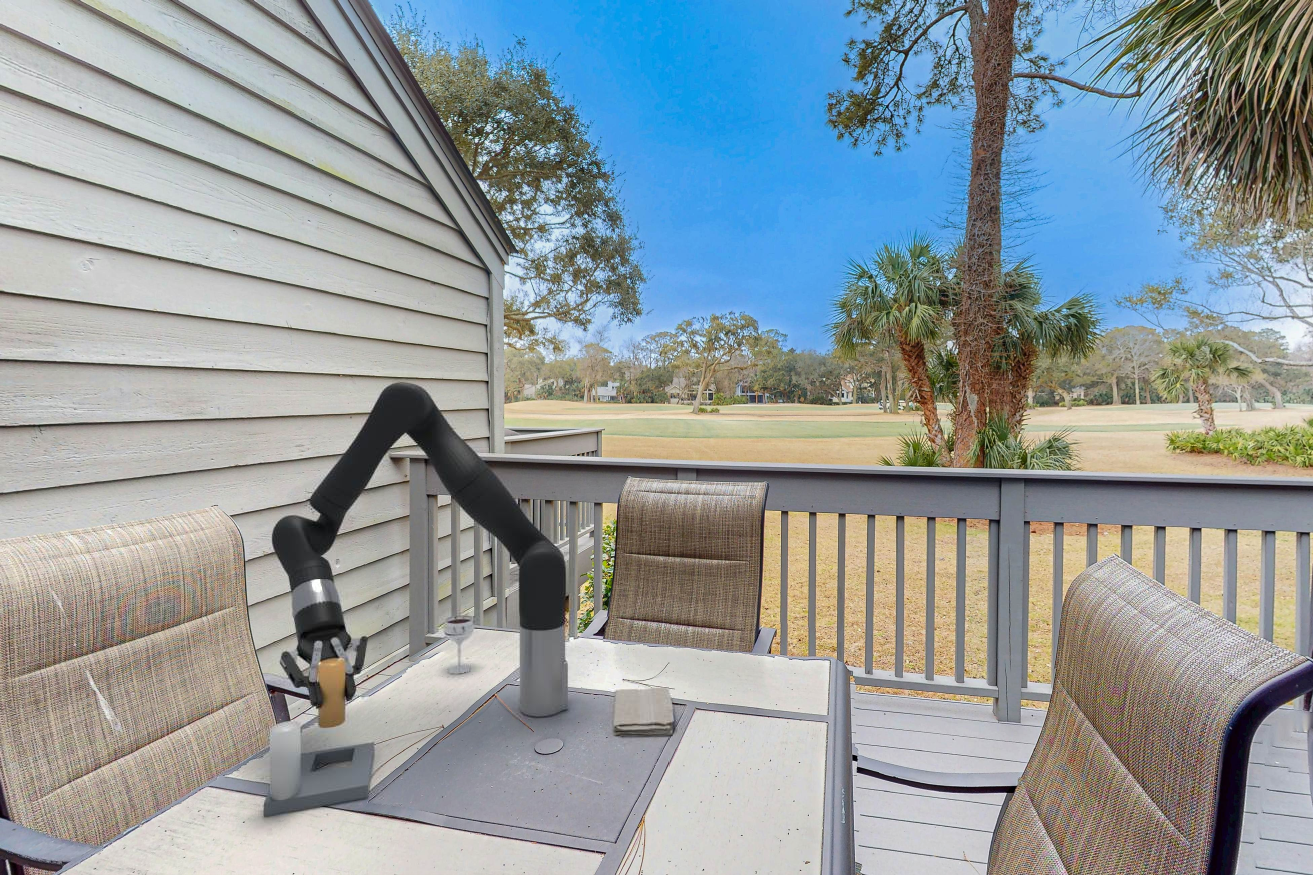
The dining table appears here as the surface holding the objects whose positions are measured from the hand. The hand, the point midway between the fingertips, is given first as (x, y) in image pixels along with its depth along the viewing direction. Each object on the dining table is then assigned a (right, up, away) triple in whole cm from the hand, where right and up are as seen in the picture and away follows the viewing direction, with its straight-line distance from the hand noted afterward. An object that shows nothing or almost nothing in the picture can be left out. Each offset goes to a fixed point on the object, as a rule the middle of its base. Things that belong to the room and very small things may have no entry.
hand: (335, 701), depth 103 cm
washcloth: (+50, -13, +23) cm, 56 cm away
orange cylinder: (-1, -4, +2) cm, 5 cm away
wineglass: (+6, -12, +45) cm, 47 cm away
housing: (-1, -12, -1) cm, 12 cm away
